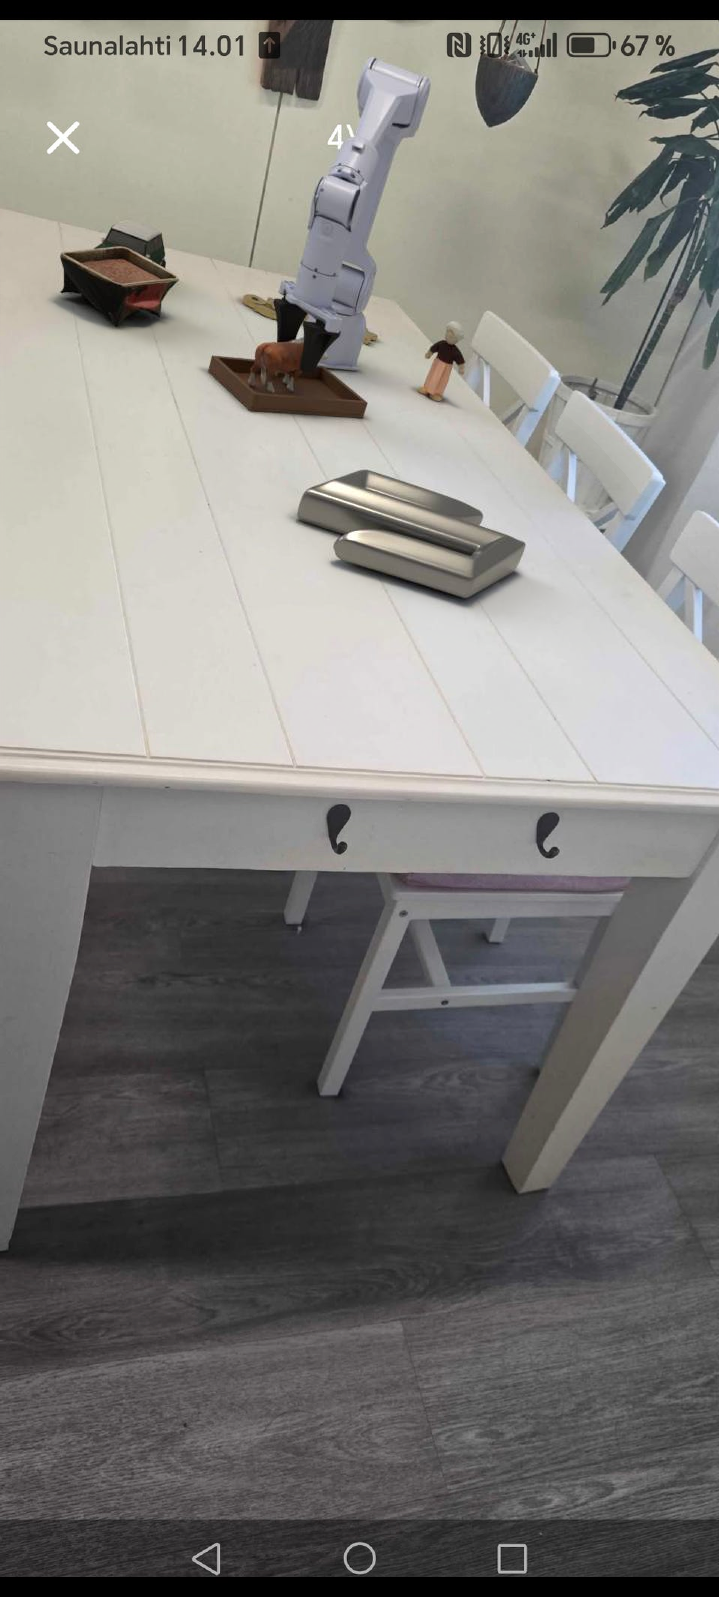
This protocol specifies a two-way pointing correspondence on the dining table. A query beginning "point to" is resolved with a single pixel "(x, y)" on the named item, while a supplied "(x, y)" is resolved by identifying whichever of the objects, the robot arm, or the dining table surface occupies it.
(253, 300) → the lettering
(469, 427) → the dining table surface
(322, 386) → the walnut tray
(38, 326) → the dining table surface
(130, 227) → the miniature car
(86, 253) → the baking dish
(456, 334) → the grandmother figurine
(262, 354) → the bull figurine
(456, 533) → the emblem
